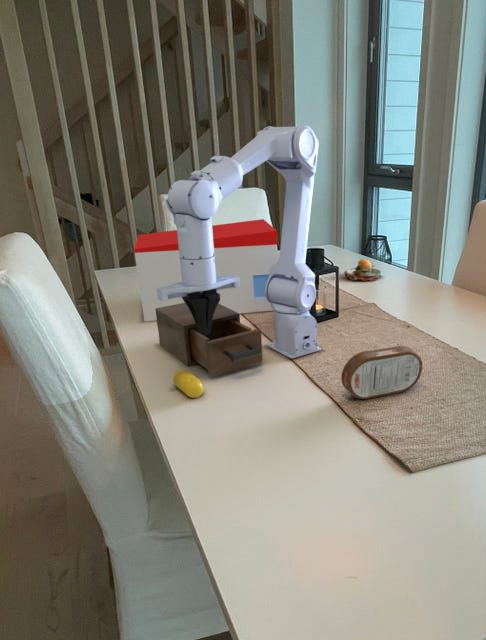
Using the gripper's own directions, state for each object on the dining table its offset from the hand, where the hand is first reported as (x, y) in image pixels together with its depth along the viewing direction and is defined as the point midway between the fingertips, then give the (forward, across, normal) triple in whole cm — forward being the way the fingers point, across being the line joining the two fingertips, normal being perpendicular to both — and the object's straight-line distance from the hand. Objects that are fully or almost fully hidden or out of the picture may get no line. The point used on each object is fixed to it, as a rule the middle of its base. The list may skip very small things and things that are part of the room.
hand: (204, 333), depth 90 cm
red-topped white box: (+10, -24, -46) cm, 53 cm away
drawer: (+10, -7, -6) cm, 13 cm away
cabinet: (+10, -7, -18) cm, 22 cm away
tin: (+11, -23, +22) cm, 34 cm away
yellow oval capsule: (+11, +4, 0) cm, 11 cm away
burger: (+10, -77, -42) cm, 89 cm away
